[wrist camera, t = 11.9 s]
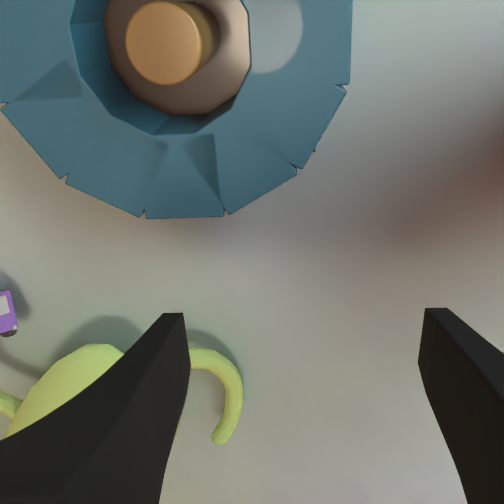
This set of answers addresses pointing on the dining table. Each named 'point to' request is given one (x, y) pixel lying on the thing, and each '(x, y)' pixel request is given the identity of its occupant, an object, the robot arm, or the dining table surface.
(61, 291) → the dining table surface
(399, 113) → the dining table surface
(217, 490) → the dining table surface
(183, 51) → the peg stand
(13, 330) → the figurine
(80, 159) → the ring
